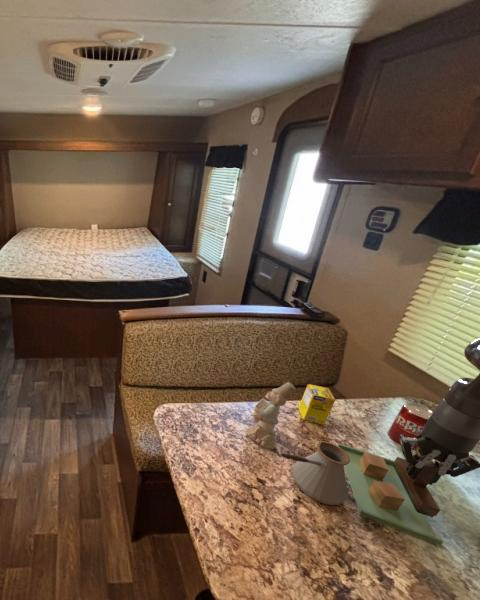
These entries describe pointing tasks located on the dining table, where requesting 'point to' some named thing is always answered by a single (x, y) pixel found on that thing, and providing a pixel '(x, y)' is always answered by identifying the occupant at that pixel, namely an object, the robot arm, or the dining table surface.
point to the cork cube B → (386, 495)
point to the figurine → (268, 416)
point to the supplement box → (316, 404)
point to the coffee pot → (322, 473)
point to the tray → (397, 519)
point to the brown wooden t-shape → (418, 486)
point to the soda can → (409, 422)
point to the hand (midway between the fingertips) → (418, 478)
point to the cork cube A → (373, 466)
